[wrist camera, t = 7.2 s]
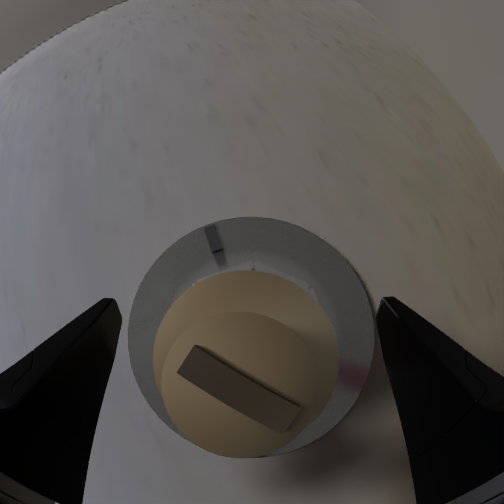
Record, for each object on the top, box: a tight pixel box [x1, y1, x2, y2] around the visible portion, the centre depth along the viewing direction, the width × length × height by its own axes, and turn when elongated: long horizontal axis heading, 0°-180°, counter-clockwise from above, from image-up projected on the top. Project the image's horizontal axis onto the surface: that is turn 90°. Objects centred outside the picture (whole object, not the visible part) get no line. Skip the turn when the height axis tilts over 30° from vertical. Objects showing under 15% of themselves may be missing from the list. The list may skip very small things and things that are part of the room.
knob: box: [153, 270, 339, 458], centre depth 10 cm, size 5×5×13 cm
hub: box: [128, 217, 374, 458], centre depth 16 cm, size 15×15×2 cm
